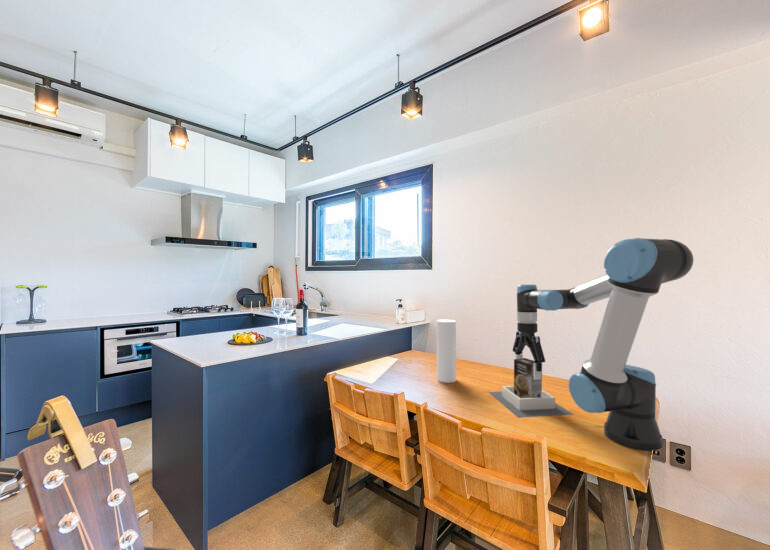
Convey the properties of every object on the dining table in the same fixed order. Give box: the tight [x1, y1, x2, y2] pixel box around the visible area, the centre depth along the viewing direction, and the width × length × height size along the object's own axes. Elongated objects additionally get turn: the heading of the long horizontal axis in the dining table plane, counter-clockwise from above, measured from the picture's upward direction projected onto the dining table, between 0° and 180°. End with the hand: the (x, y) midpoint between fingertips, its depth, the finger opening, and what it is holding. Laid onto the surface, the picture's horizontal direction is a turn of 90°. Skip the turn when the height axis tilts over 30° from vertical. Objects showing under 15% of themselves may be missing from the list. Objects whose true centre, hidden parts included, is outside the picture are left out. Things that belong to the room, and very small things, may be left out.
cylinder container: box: [436, 318, 457, 384], centre depth 165 cm, size 9×9×30 cm
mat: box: [488, 390, 574, 419], centre depth 135 cm, size 26×22×1 cm
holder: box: [501, 385, 556, 410], centre depth 135 cm, size 15×15×4 cm
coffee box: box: [513, 357, 543, 398], centre depth 135 cm, size 9×6×16 cm
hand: (528, 374), depth 134 cm, fingers open, 13 cm apart
